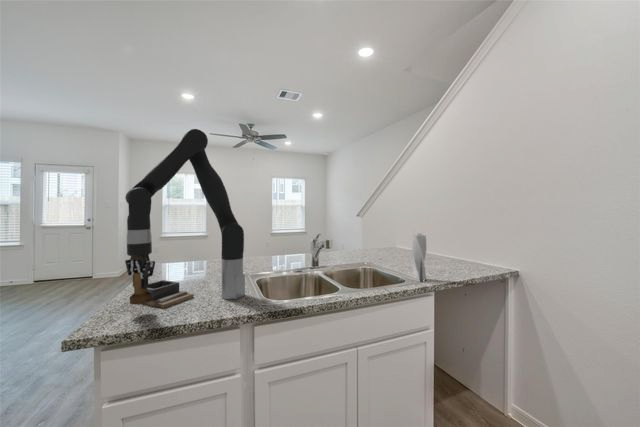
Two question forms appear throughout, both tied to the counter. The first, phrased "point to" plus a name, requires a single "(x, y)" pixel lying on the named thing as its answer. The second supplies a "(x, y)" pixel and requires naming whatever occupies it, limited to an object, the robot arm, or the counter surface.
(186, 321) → the counter surface
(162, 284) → the socket board
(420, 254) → the skyscraper
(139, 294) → the brown wooden chess pawn
